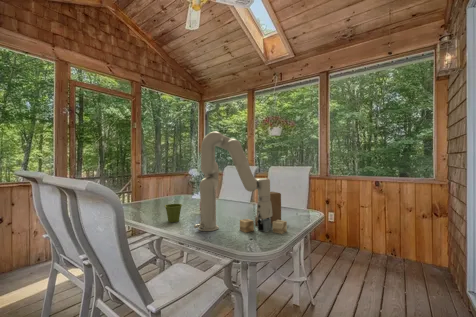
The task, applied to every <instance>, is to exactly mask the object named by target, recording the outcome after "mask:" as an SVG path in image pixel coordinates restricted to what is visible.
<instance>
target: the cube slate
mask: <svg viewBox="0 0 476 317" xmlns="http://www.w3.org/2000/svg"><path fill="white" fill-rule="evenodd" d="M260 221H261V219H260ZM262 224H263V230H258V231H259V232H260V231H261V232H266V233H267V232H269V231H271V230H272V224H271V219H263V222H262Z"/></svg>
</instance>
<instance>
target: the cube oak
mask: <svg viewBox="0 0 476 317" xmlns="http://www.w3.org/2000/svg"><path fill="white" fill-rule="evenodd" d="M254 223H255V221H254V220H253V219H249V218H245V219H240V220H239V231H241V232H242V233H251V232H254V231H255V229H254V228H255V227H254V226H255V224H254Z"/></svg>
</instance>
